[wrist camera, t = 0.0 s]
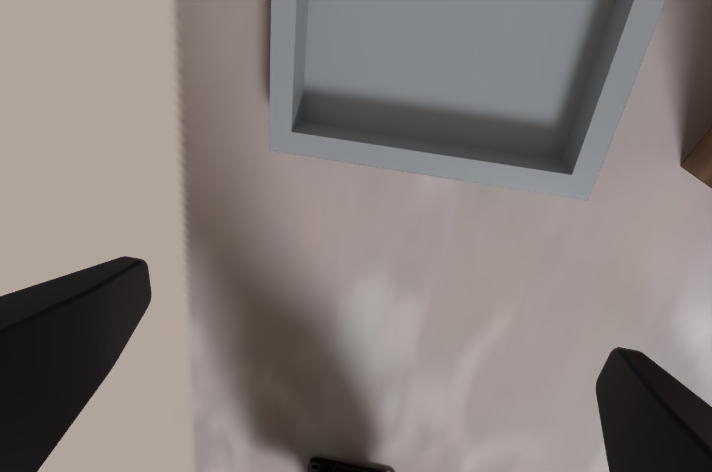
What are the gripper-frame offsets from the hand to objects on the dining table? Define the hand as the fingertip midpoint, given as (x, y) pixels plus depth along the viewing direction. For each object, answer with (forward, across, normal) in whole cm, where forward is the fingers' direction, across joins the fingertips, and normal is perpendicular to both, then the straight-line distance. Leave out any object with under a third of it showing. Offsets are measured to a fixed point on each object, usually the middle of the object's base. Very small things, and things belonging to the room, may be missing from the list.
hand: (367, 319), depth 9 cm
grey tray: (+15, -1, -6) cm, 16 cm away
